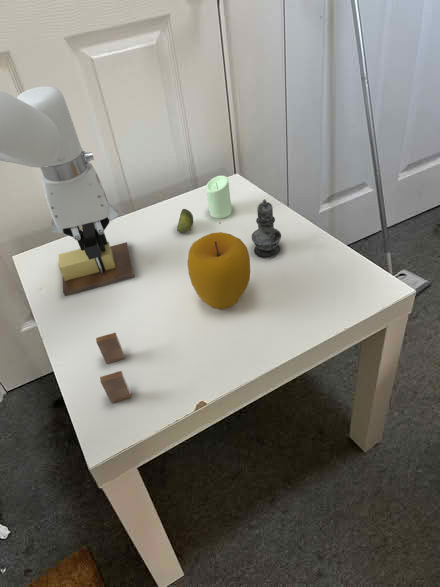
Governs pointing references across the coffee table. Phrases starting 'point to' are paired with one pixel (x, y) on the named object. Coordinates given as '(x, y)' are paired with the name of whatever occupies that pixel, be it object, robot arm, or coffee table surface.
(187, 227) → the lime
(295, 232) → the coffee table surface
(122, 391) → the brown block
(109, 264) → the butter slice
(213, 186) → the candle
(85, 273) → the butter block
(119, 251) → the butter board
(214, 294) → the apple
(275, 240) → the black chess piece
